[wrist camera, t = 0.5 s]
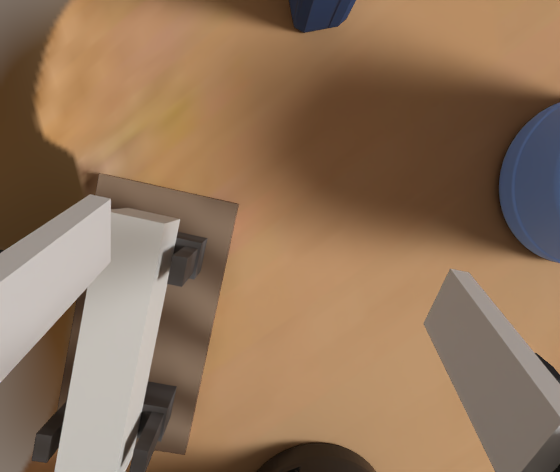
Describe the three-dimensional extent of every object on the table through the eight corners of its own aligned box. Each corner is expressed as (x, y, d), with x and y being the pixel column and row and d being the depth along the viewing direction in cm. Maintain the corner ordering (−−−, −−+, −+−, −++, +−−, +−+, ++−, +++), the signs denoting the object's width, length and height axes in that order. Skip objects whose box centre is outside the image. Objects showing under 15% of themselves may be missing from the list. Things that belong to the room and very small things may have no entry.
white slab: (133, 454, 30) (109, 505, 25) (83, 446, 30) (49, 496, 25) (180, 219, 28) (164, 223, 23) (128, 207, 28) (101, 210, 23)
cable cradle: (187, 444, 36) (163, 532, 26) (61, 423, 35) (-11, 508, 25) (238, 204, 34) (232, 206, 24) (106, 174, 32) (45, 165, 23)
